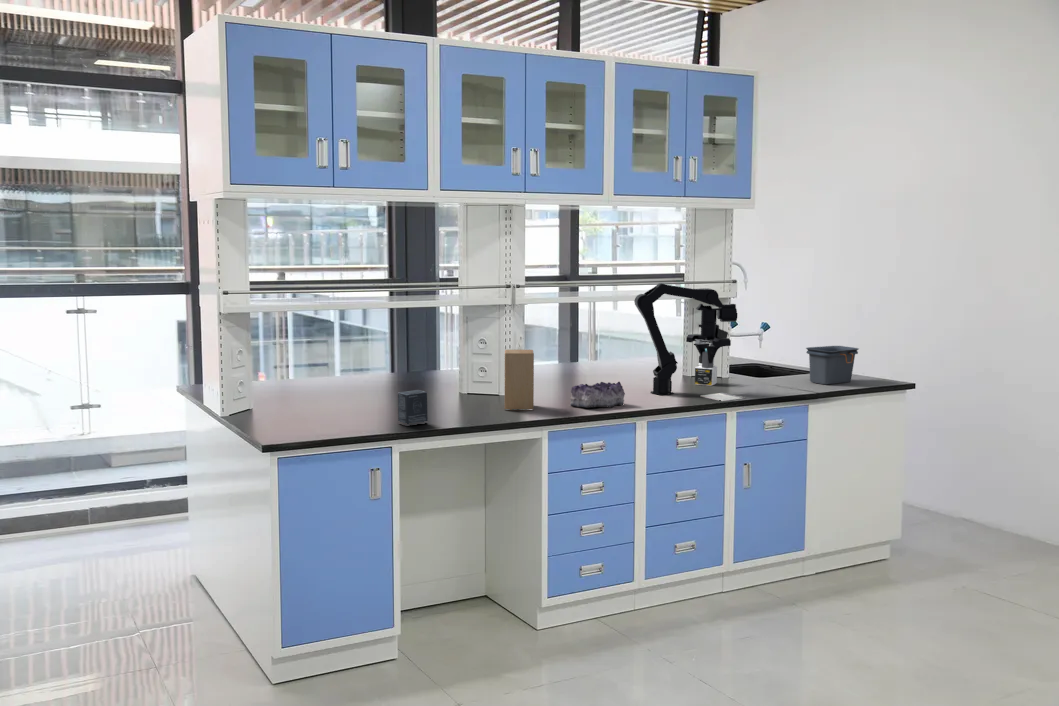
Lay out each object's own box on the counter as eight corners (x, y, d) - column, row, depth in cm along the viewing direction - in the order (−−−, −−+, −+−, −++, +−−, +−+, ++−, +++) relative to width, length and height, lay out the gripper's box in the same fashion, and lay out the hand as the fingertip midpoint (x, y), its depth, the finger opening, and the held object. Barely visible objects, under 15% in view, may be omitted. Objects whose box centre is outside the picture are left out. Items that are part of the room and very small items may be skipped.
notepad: (722, 401, 355) (722, 399, 355) (700, 396, 365) (700, 395, 365) (744, 398, 361) (744, 397, 361) (721, 393, 371) (721, 392, 371)
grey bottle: (707, 368, 368) (707, 349, 368) (701, 367, 371) (702, 348, 370) (713, 367, 370) (713, 348, 369) (707, 366, 373) (708, 348, 372)
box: (418, 421, 317) (418, 389, 315) (428, 424, 312) (427, 391, 311) (397, 424, 312) (397, 391, 310) (407, 427, 307) (406, 394, 306)
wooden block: (532, 405, 346) (533, 349, 343) (533, 410, 336) (533, 353, 333) (504, 405, 346) (504, 349, 343) (504, 410, 336) (504, 353, 333)
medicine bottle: (694, 384, 392) (695, 355, 391) (699, 382, 398) (700, 353, 397) (711, 386, 389) (712, 356, 387) (716, 383, 395) (717, 354, 394)
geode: (612, 401, 355) (616, 375, 353) (629, 411, 346) (633, 384, 343) (564, 403, 346) (567, 376, 344) (580, 413, 336) (583, 385, 334)
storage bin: (833, 377, 412) (835, 344, 410) (865, 382, 399) (866, 348, 398) (800, 382, 400) (802, 347, 398) (832, 387, 387) (833, 352, 385)
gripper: (742, 322, 365) (740, 364, 367) (707, 318, 380) (706, 358, 382) (720, 324, 359) (719, 366, 361) (685, 320, 374) (685, 360, 376)
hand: (707, 362), depth 370 cm, fingers closed on grey bottle, 3 cm apart
